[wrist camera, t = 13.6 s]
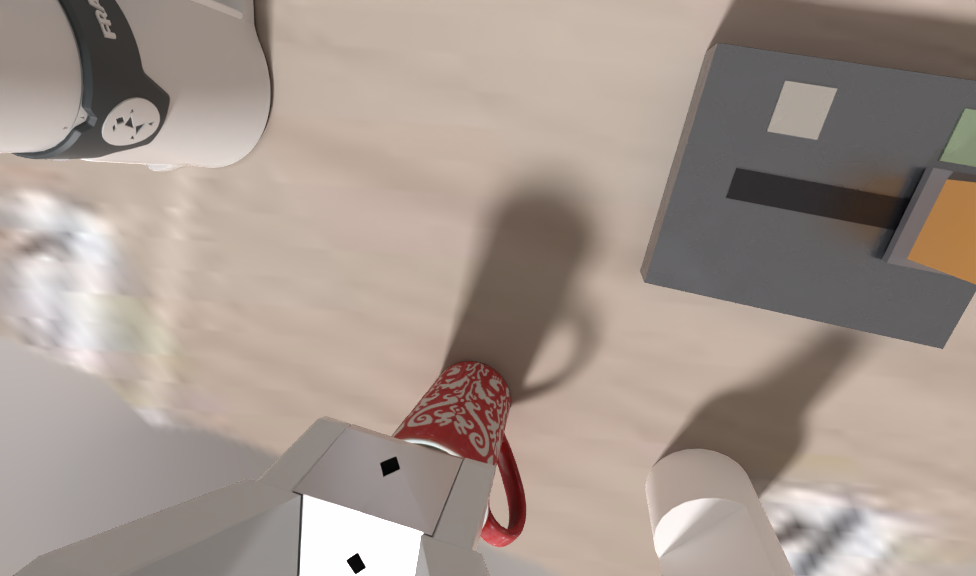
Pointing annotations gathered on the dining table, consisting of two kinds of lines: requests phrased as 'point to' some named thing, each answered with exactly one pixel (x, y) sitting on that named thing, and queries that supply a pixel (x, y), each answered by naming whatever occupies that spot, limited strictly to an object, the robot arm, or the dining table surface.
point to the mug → (471, 433)
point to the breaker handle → (939, 226)
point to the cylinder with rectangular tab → (710, 519)
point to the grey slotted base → (812, 190)
